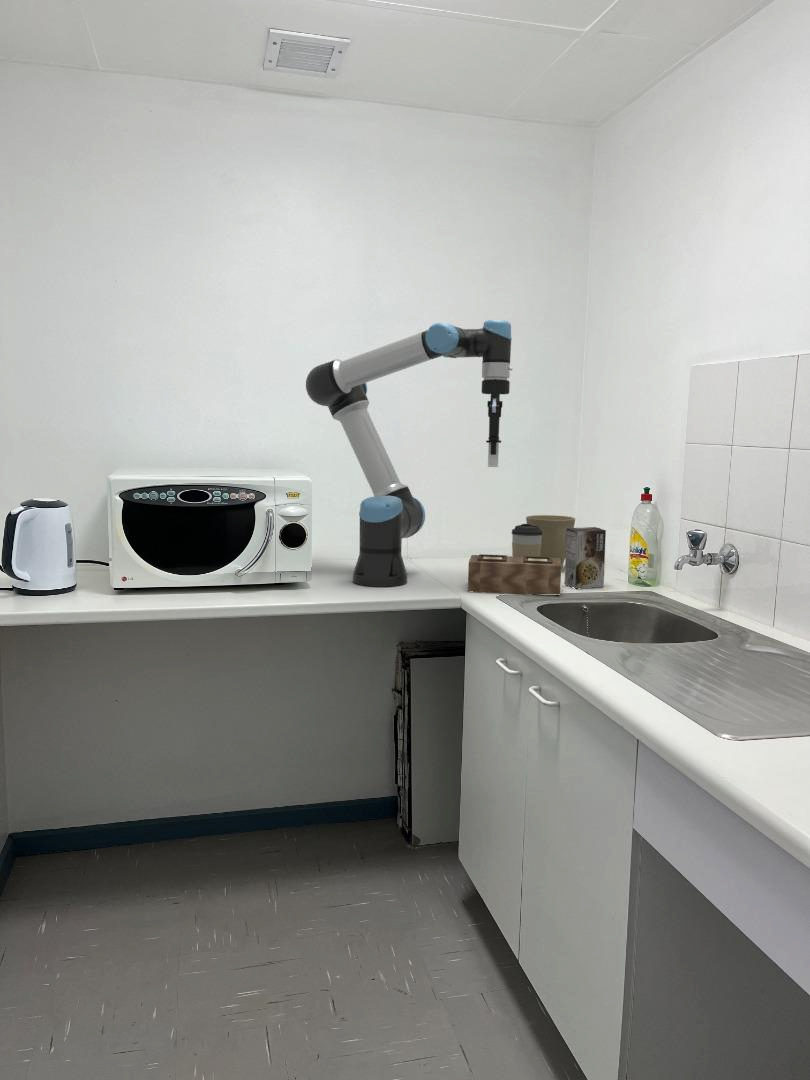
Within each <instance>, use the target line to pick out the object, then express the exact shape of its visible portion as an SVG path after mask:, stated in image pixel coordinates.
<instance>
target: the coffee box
mask: <svg viewBox="0 0 810 1080" xmlns="http://www.w3.org/2000/svg"><path fill="white" fill-rule="evenodd" d="M606 532H607V529H604V528H600V527H596V526H592V527H591V526H590V527H589V526H585V527H574V528H567V532H566V558H565V560H564V583H563V584H565V585H564V586H566V585H568V586H567V587H569V586H571V587H574V588H582V589H593V588H592V587H597V588H604V586H605V583H604V582H605V564H606V563H605V562H606V561H605V560H606V559H605V558H606V534H607V533H606ZM571 587H570V588H571ZM574 588H573V589H574Z"/></svg>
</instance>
